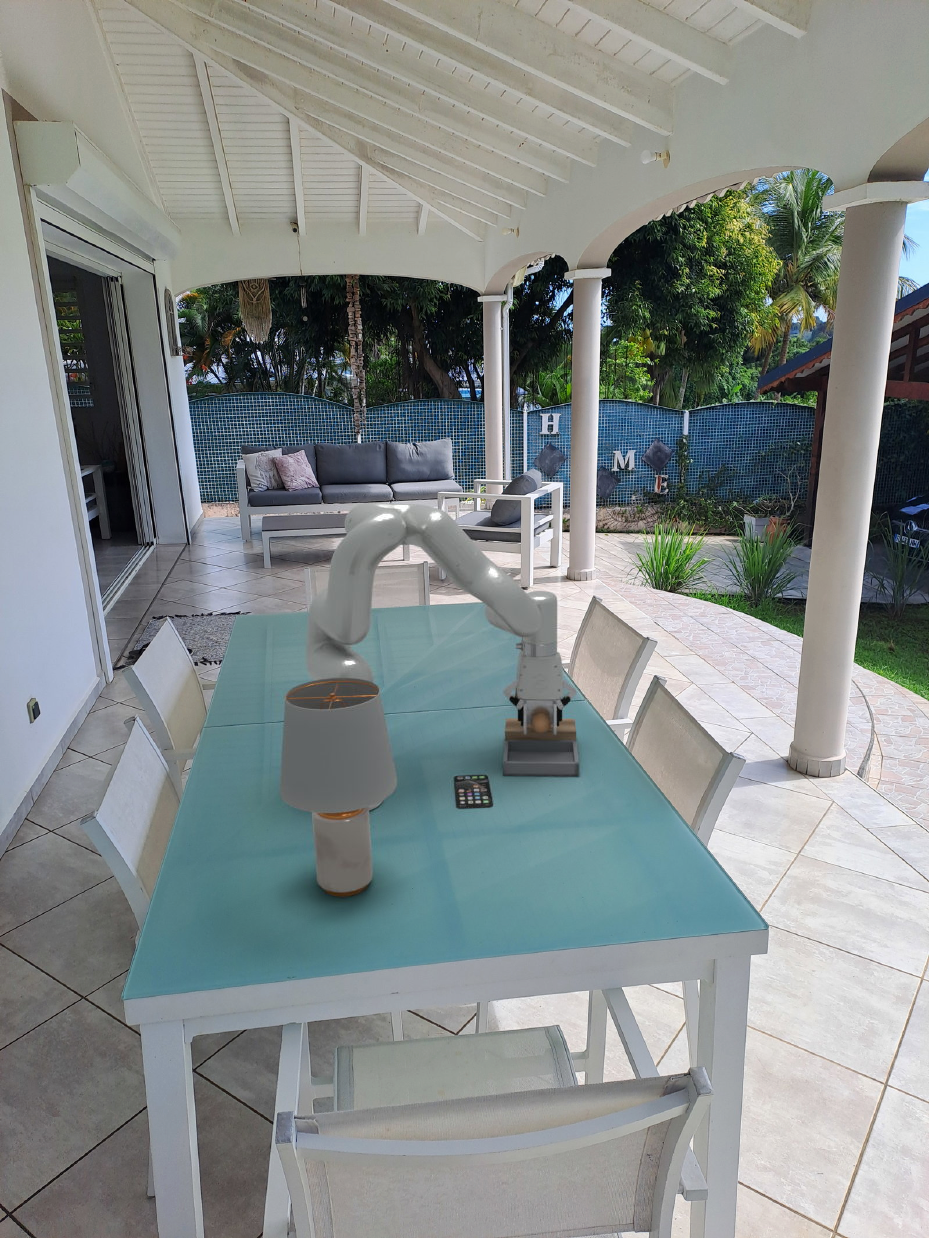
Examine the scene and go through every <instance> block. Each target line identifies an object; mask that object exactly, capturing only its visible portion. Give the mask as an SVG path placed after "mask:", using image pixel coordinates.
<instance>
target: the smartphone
mask: <svg viewBox="0 0 929 1238" xmlns="http://www.w3.org/2000/svg"><path fill="white" fill-rule="evenodd" d="M453 785H454V796H455V797H454V798H455V799H454V800H455V808H456V809H458V810H467V809H469V810H470V809H486V808H488V809H490V808H492V807H494V802H493V801H494V800H493V796H492V790H491V786H490V785H491V784H490V780H489V775H488V774H464V775H463V774H462V775H459V774H458V775H455V776H454V777H453Z"/></svg>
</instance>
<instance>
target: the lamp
mask: <svg viewBox="0 0 929 1238" xmlns="http://www.w3.org/2000/svg"><path fill="white" fill-rule="evenodd" d="M385 715H386V714H385V711H384V705H383V702H382V696H381V689H380V687H379V686H378V685H377V684H376V683H374V682H373V683H372V682H370V681H366V680H362V679H355V678H329V679H321V680H315V681H314V680H311V681H308V682H304V683H301V684H299V685H296V686H294V687H292V688H291V689H290V690H288V691H287V692H286V694H285V695H284V716H283V730H282V744H281V764H280V767H281V768H280V778H279V779H280V780H279V781H280V783H279V794H280V798H281V799H282V801H283V802H285V803H286V804H287V805H288V806H290V807H292V808H294V809H297V810H300V811H303V812H310V813H311V820H312V821H311V822H312V830H313V831H312V833H313V845H314V857H315V869H316V870H315V871H316V882H317V884H318V885H319V887H321V888H322V890H323V892H325V893H326V894H328V895H330V896H334V897H338V898H343V897H344V898H345V897H351V896H356V895H358V894H360V893H361V892H364V891H365V890H366V888H367V887H368V885H369V884H370V882H371V881H372V880H373V879H372V878H373V875H374V874H373V859H372V856H373V855H372V841H371V840H372V839H371V827H370V826H371V825H370V823H371V822H370V811H369V806H371V805H374V804H376V803H378V802H380V801H382V800H383V801H384V800H386V799H387V798H388V797H390V796H391V795H392V794H393V793H394V792H395V790H396V788H397V786H398V778H397V772H396V768H395V767H396V766H395V762H394V756H393V753H392V752H393V751H392V746H391V741H390V735H389V732H388V725H387V721H386V716H385Z"/></svg>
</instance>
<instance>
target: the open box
mask: <svg viewBox="0 0 929 1238" xmlns="http://www.w3.org/2000/svg"><path fill="white" fill-rule="evenodd" d="M539 713H543V714H546V715H547V716H548V717H549V718H550V721H551V724H553V731H554V734H557V703H556V702H555V701H554V700H526V701H525V702H524V734H526V726H527V724H531V720H532V718H533V717H534V716H535V715H536V714H539Z"/></svg>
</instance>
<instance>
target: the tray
mask: <svg viewBox="0 0 929 1238" xmlns="http://www.w3.org/2000/svg"><path fill="white" fill-rule="evenodd" d="M503 748H504V749H503V758H502V759H503V760H502V761H503V762H502V776H503V777H563V778H564V777H566V778H567V777H571V778H573V777H574V778H575V777H576V778H577V777H580V775H579V774H580V761H579V755H578V744H577V739H576V740H505V739H504V747H503Z"/></svg>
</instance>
